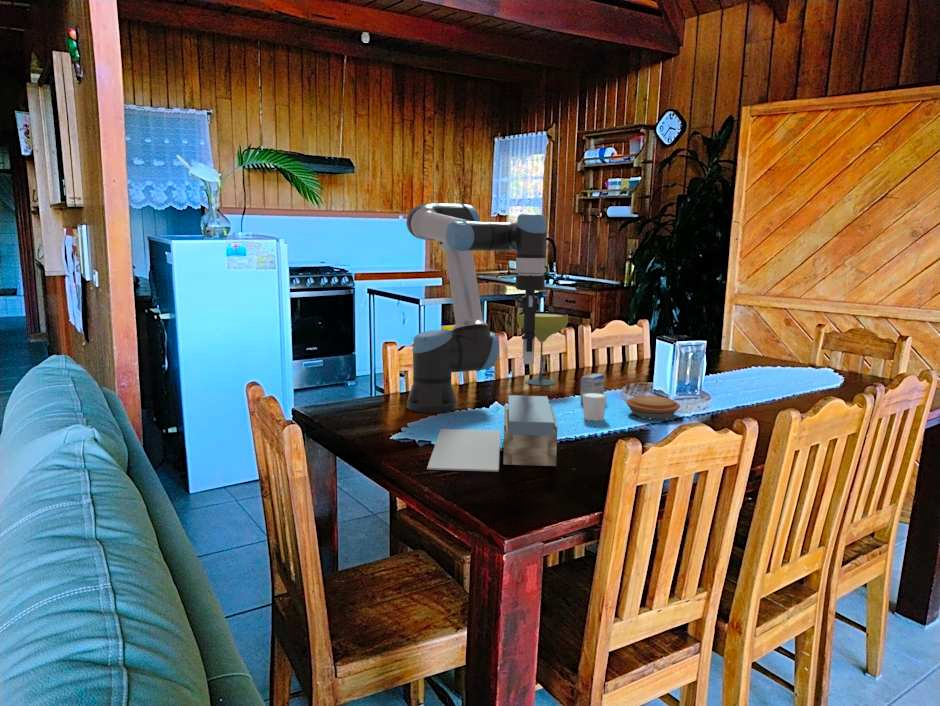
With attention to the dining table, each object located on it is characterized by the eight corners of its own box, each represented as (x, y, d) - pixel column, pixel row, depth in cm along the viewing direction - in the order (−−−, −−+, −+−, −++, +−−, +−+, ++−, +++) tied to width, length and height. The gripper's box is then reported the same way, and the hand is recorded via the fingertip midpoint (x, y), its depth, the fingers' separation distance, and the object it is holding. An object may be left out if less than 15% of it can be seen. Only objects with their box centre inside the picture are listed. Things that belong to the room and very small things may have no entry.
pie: (619, 409, 211) (619, 393, 210) (668, 408, 212) (669, 393, 211) (634, 422, 196) (635, 405, 195) (687, 422, 197) (688, 405, 196)
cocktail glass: (506, 380, 251) (507, 312, 247) (547, 376, 260) (549, 310, 256) (533, 390, 236) (535, 317, 232) (575, 385, 244) (578, 315, 240)
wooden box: (503, 464, 157) (504, 425, 155) (503, 439, 176) (504, 404, 175) (556, 466, 156) (557, 426, 155) (550, 440, 176) (551, 405, 174)
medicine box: (592, 405, 215) (593, 378, 214) (579, 403, 218) (580, 376, 216) (603, 400, 221) (604, 374, 220) (591, 398, 224) (592, 372, 222)
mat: (427, 469, 153) (426, 467, 153) (440, 430, 184) (440, 428, 184) (498, 471, 152) (498, 469, 152) (500, 431, 183) (500, 430, 183)
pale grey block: (508, 434, 152) (508, 421, 152) (508, 406, 178) (508, 395, 178) (553, 435, 152) (554, 422, 151) (546, 407, 178) (547, 396, 177)
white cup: (606, 416, 201) (607, 393, 200) (604, 422, 195) (605, 398, 193) (583, 414, 203) (584, 391, 202) (580, 420, 196) (581, 396, 195)
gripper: (547, 276, 167) (544, 368, 171) (542, 272, 188) (540, 354, 191) (516, 276, 168) (514, 367, 171) (515, 272, 188) (513, 354, 192)
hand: (528, 360), depth 181 cm, fingers open, 8 cm apart
